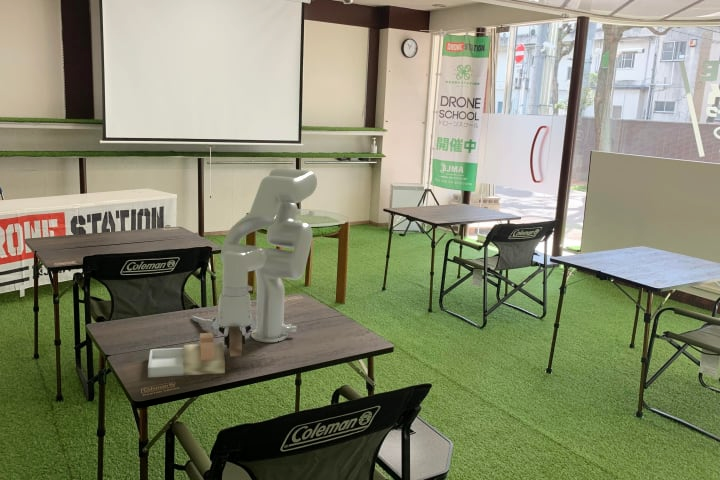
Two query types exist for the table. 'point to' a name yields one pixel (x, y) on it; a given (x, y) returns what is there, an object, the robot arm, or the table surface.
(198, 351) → the beige flat block
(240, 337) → the brown tapered block
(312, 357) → the table surface
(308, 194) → the robot arm
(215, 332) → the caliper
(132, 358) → the table surface
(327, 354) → the table surface
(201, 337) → the pink cube
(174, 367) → the tray
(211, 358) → the tan wooden cube
